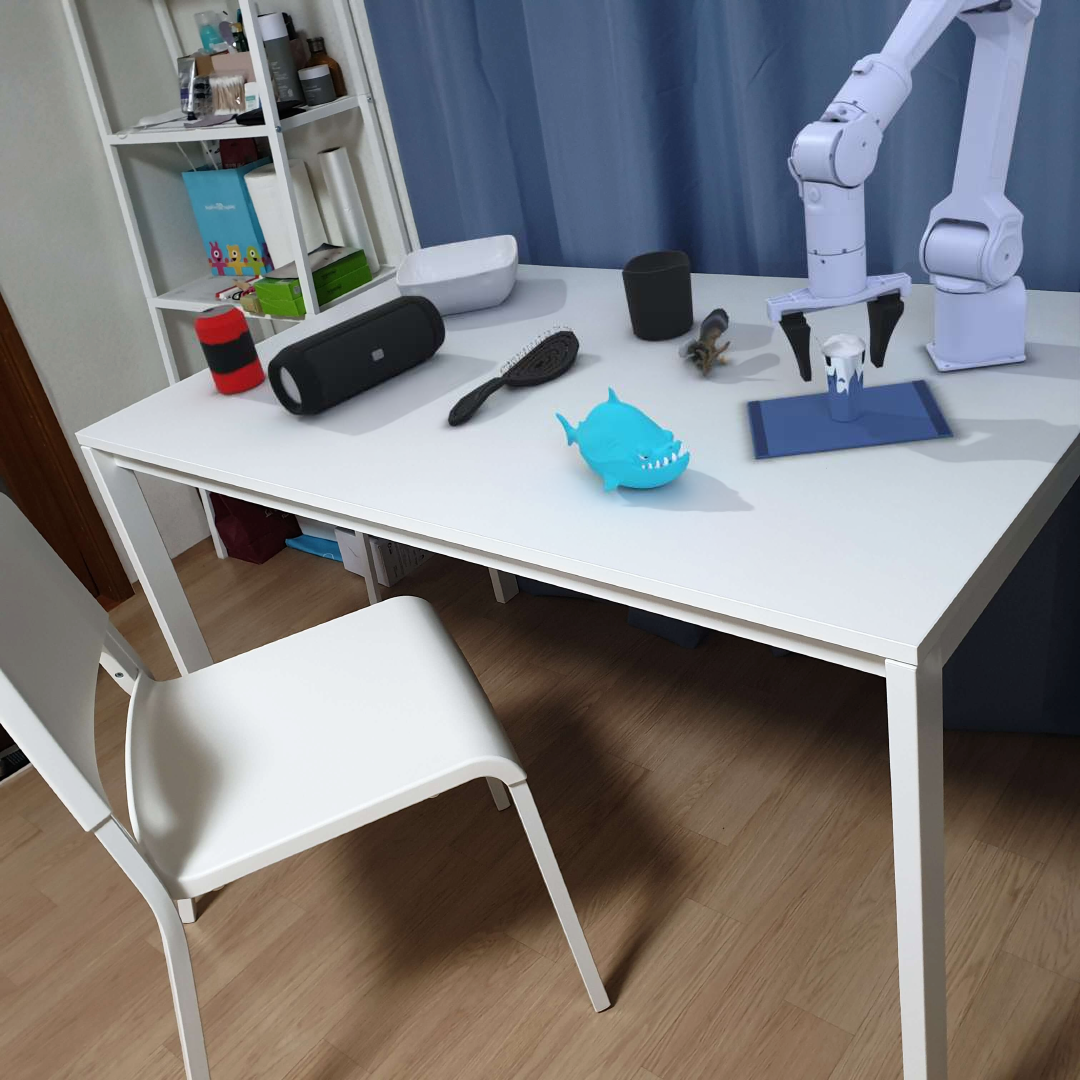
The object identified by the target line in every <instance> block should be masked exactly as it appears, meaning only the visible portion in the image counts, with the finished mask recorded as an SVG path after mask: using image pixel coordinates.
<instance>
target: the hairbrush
mask: <svg viewBox="0 0 1080 1080" xmlns="http://www.w3.org/2000/svg"><path fill="white" fill-rule="evenodd" d="M562 327H563V328H565V330H561V327H560V326H559V325H558V326H557V325H556V327H555V326H553V329H555V328H556V329H557V331H555V332H554V333H552V334H551V330H547V331H546V332H547V333H549V334H548V335H546V333H545V332H543V334H544V335H545V336H544V339H543V340H540V342H539V341H538V342H537V340H536V339H535V340H534V342H536V343H535V345H536V346H535V347H533V346H531V347H530V348H529V345H527V346H526V348H528V350H527V351H528V352H526V349H525V348H522V350H523V351H524V355H523V354H521V353H522V352H521V351H519V353H520V354H521V357H520V355H519V354H518V353H516V356H518V361H517V359H515V356H512V359H510V361H507V363H506V364H505V365H503V366H501V368H500V372H501V374H502V375H501V376H500V377H499V376H498V377H496V376H495V377H493V378H491V379H489V380H488V381H486V382H484V383H483V384H481V385H479V386H478V387H476V388H474V389H473V390H472V391H470V392H469V393H466V395H464V396H463V397H461V398H460V399H458V401H457V402H456V404H455V405H454V406H453V407H452V408H451V409H450V410H449V413H448V417H447V421H448V424H449V426H452V427H457V426H459V425H460V424H462V423H464V422H466V421H467V420H470V418H471V417H472V416H473V415H474V414H476V412H477V411H478V410H479V409H480V408H481V407H482V406H483V404H484V403H485V402H486V401H487V400H488V398H489V397H490V396H491V395H493V394H494V393H495V392H497V391H498V390H500V389H501V388H503V387H505V386H507V385H509V386H531V385H532V386H533V385H539V384H543V383H546V382H550V381H553V380H555V379H557V378H559V377H560V376H562V375H563V374H565V373H567V371H568V370H569V369H570V368H571V366H573V364H574V363H575V362H576V359H577V355H578V352H579V349H580V346H581V345H580V342H579V338H578V337H577V336H576V334H575V333H574V331H573V330H572V328H569V327H568V326H562ZM559 329H560V330H559ZM537 337H538V338H541V335H540V334H538V336H537ZM530 344H531V345H533V343H532V342H530ZM513 361H514V362H513ZM510 362H512V364H513V365H512V364H511V363H510ZM515 362H516V363H515ZM508 365H509V367H508ZM506 367H508V370H507V369H506ZM503 369H504V372H503ZM505 370H506V371H505Z"/></svg>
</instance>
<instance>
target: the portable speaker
mask: <svg viewBox="0 0 1080 1080" xmlns="http://www.w3.org/2000/svg"><path fill="white" fill-rule="evenodd" d="M445 340H446V327H445V322H444V319H443V317H442V316H441V315H440V313H439V311H438V309H437V308H436V307H435V305H434V304H433V303H432V302H431V301H430V300H429V299H427V298H425V297H423V296H402V295H400V296H399V297H396V298H394V299H391V300H390V301H389V300H388V301H387V302H385V303H382V304H380V305H378V306H376V307H373V308H371V309H368V310H365V311H364V312H362V313H359V314H357V315H355V316H353V317H350V318H348V319H346V320H343V321H342V322H339V323H336V324H334V325H332V326H330V327H327V328H325V329H322V330H320V331H318V332H316V333H314V334H311V335H309V336H307V337H304V338H302V339H300V340H298V341H296V342H293V343H291V344H289V345H287V346H285V347H283V348H282V349H281V350H279V352H278V353H277V354H276V355H274V357H273V358H272V359H270V361H269V363H268V364H267V376H268V381H269V383H270V384H269V385H270V387H271V389H272V390H273V394H274V395H275V397H276V398H277V400H278V401H279V403H280V404H281V406H282V407H283V408H284V409H285V410H286V411H287V412H289V413H290V414H291V415H294V416H306V415H308V416H309V415H318V414H321V413H323V412H325V411H327V410H330V409H331V408H333V407H335V406H338V405H340V404H341V403H344V402H346V401H348V400H350V399H352V398H354V397H356V396H358V395H361V394H363V393H364V392H366V391H368V390H371V389H372V388H375V387H376V386H378V385H381V384H383V383H386V382H387V381H389V380H391V379H393V378H395V377H397V376H399V375H401V374H403V373H405V372H407V371H409V370H411V369H413V368H415V367H417V366H419V365H421V364H423V363H425V362H426V361H427V360H429V359H431V358H433V356H434V355H435V354H436V353H437V352H438V351H439V349H441V347H442V346H443V344H444V343H445Z"/></svg>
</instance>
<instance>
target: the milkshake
mask: <svg viewBox="0 0 1080 1080" xmlns="http://www.w3.org/2000/svg"><path fill="white" fill-rule="evenodd" d="M814 338H815V340H816V342H817V344H818V346H819V348H820V351H821V357H822V363H823V370H824V376H825V382H826V389H827V393H828V398H829V406H830V414H831V417H832V419H833V420H835V421H838V422H850V421H854V420H857V419H858V418H859V417H860V416H861V415H862V397H863V388H864V376H865V375H864V374H865V361H866V350H867V349H866V348H867V344H866V342H865V340H863V339H862V338H860V337H859V336H857V335H854V334H853V335H851V334H849V333H841V334H834V335H832V336H830V337H828V339H827V340H826V341H825V342H823V344H821V343H820V341H819V338H818V337H817V336H814Z"/></svg>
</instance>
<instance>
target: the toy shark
mask: <svg viewBox="0 0 1080 1080" xmlns="http://www.w3.org/2000/svg"><path fill="white" fill-rule="evenodd" d="M607 387H608V388H607V389H608V398H607V400H606V401H603V402H601V403H599V404H597V405H596V406H594V408H592V409H591V410H590V412H589V413H588V414H587V415H586V417H585V419H584V420H583V421H582V420H581V421H578V425H577V427H576V428H574V427H573V426H572V425H571V424H570V423H569V422H568V420H567V419H566V417H564V416H563V415H562V414H561V413H559V412H555V417H556V418H557V420H559V423H560V425H562V427H563V429H564V433H565V434H566V440H567V444H566V445H567V446H568V447H571V446H572V445H573V443H575V444H576V445H578V450H579V453H580V455H581V457H582V458H583V460H584V462H585V463H586V464H587V465H588V467H589V468H590V469H591V471H593V472H594V473H595V474H596V475H598V476H599V477H601V478H602V479H603V480H604V481H605V482H604V483H605V484H604V488H603V492H609V491H612V490H614V489H615V488H617V487H618V486H623V487H626V488H627V487H628V488H632V489H633V488H635V489H652V488H657V487H661V486H663V485H666V484H668V483H670V482H672V481H674V480H676V479H677V478H679V477H680V476H681V475H682V474H683V473H684V472H685V470H687V468H688V466H689V464H690V458H691V457H690V456H691V454H690V452H689V451H688V450H687V446H686V445H685V444H683V442H682V441H681V440H679V439H675V435H674V433H673V431H671V430H670V429H669V430H668V429H663V428H662V427H661V426H659V424H658V423H656V422H655V421H654V420H652V419H651V418H650V417H649V416H647V415H646V414H645V413H644V412H642V411H641V410H640V409H639V408H638V407H637V406H635V405H632V404H629V403H627V402H623V401H620V399H619V397H617V394H616V392H615V390H613V388H611V387H610V386H607ZM674 439H675V441H674Z"/></svg>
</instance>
